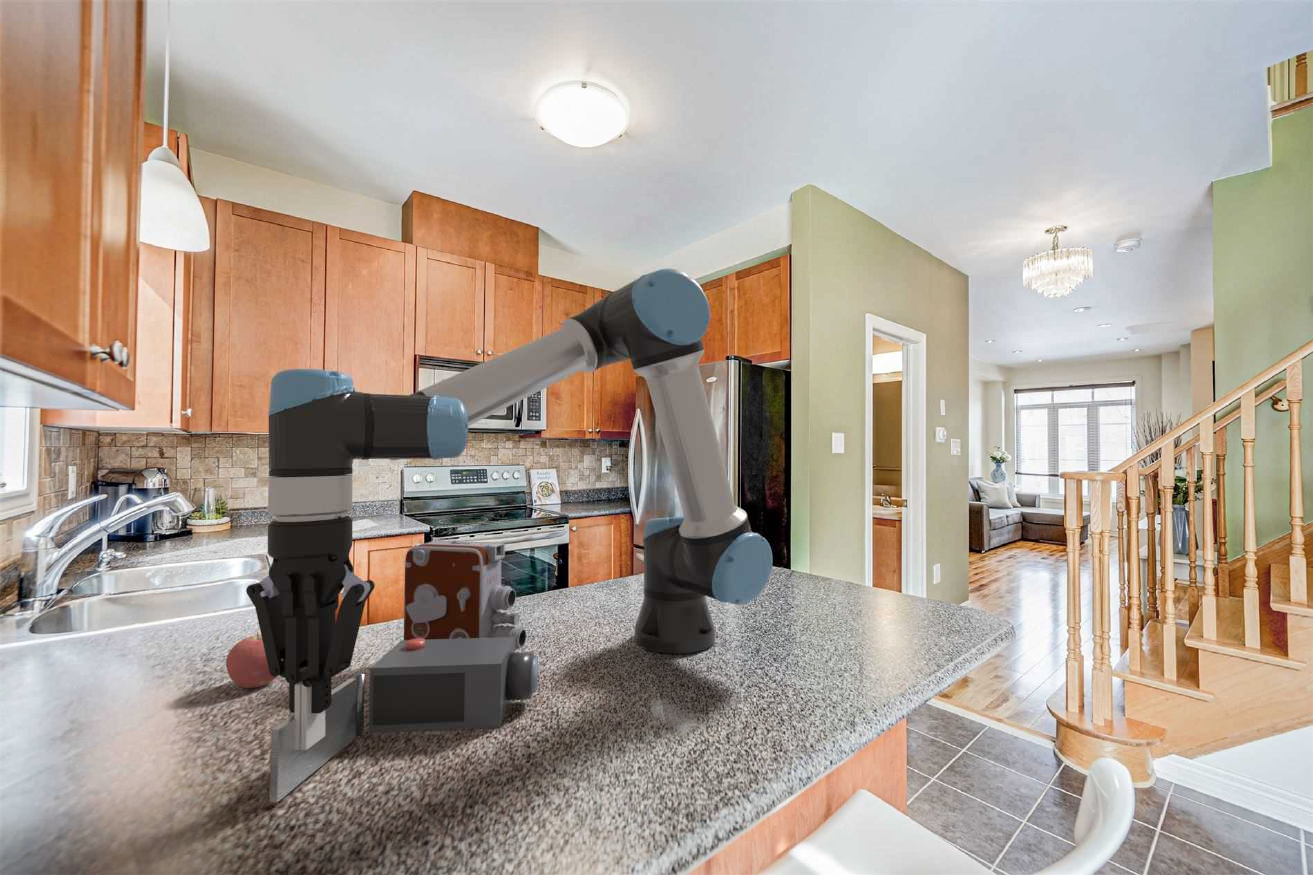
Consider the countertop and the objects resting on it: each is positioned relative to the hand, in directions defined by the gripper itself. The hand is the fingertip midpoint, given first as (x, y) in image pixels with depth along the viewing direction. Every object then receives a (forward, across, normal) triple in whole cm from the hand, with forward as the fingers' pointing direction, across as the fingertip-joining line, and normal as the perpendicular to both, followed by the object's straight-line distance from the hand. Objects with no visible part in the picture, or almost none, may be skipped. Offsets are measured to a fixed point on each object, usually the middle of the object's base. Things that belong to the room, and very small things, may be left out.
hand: (309, 742), depth 55 cm
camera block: (+5, -8, -17) cm, 19 cm away
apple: (+4, +26, -22) cm, 34 cm away
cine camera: (+5, -2, -33) cm, 33 cm away
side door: (+4, +1, -3) cm, 5 cm away
